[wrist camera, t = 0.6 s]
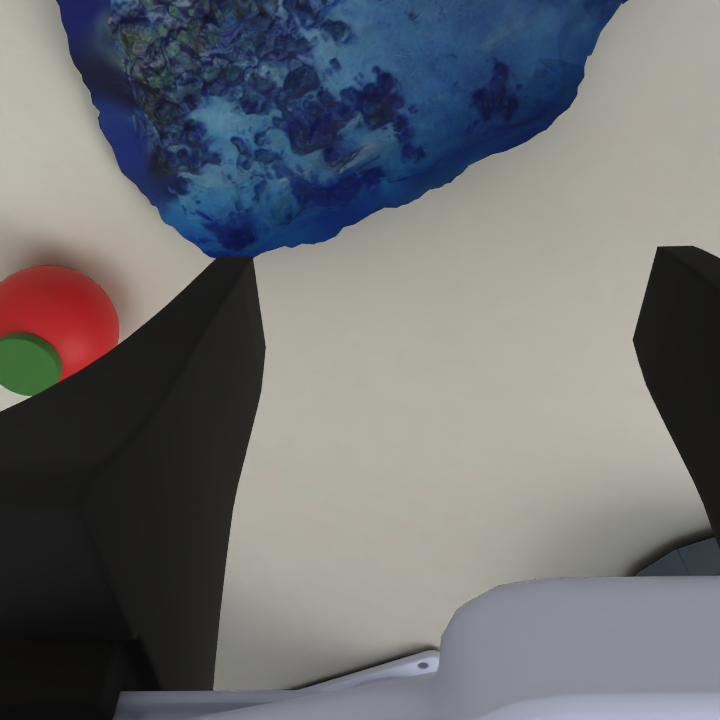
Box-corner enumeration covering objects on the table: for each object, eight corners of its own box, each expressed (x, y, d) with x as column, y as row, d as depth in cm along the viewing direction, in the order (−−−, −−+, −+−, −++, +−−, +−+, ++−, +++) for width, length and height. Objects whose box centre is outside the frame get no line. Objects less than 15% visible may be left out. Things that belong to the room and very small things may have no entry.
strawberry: (68, 365, 25) (19, 440, 21) (-13, 276, 23) (-81, 343, 19) (157, 320, 24) (121, 392, 20) (81, 224, 22) (26, 284, 18)
